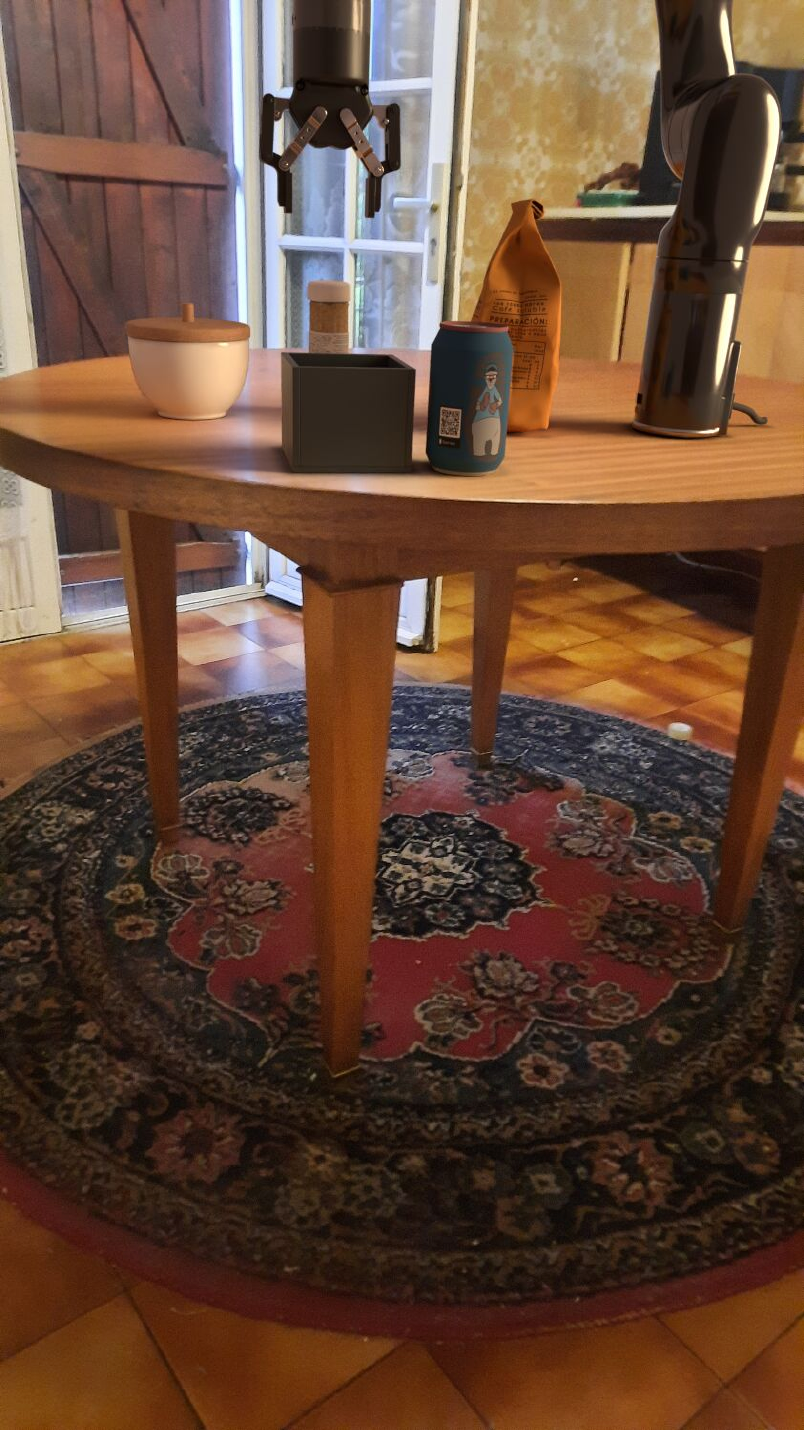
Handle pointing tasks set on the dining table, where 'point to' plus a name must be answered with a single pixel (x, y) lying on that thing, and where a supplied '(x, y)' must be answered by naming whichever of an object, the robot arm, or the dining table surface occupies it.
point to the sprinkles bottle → (328, 316)
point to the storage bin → (347, 412)
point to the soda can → (469, 397)
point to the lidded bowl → (189, 363)
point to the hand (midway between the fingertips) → (329, 215)
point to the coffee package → (525, 315)
